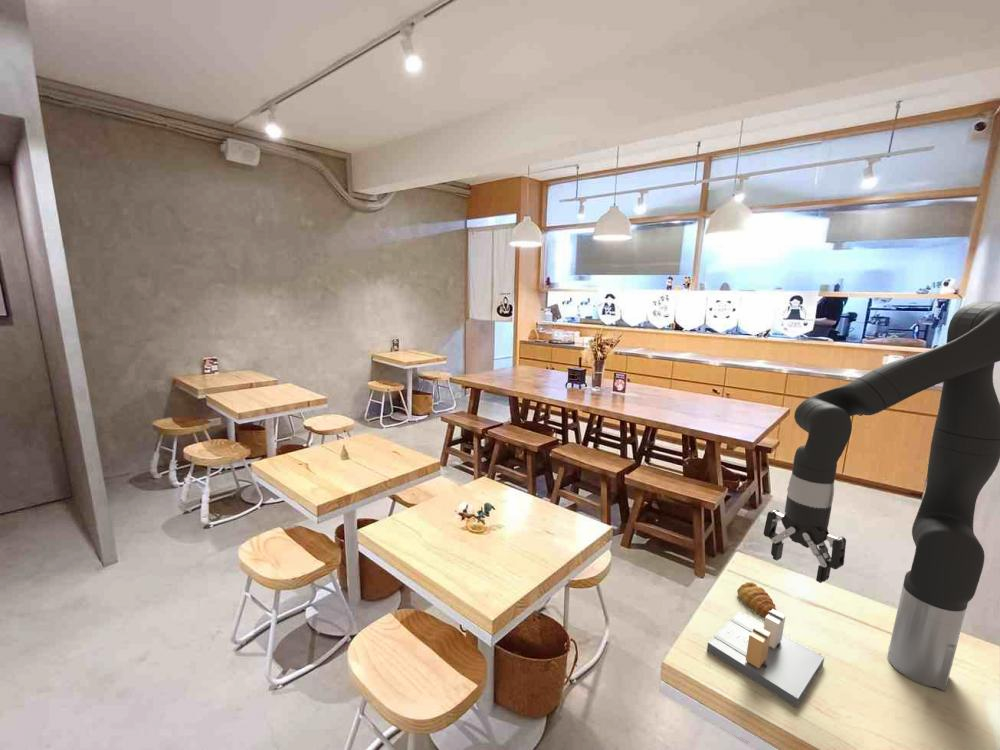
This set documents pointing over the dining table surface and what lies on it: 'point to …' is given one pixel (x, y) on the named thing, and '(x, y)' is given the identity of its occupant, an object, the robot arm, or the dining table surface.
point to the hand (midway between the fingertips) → (797, 569)
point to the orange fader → (758, 646)
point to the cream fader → (774, 626)
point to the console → (768, 659)
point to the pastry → (756, 598)
